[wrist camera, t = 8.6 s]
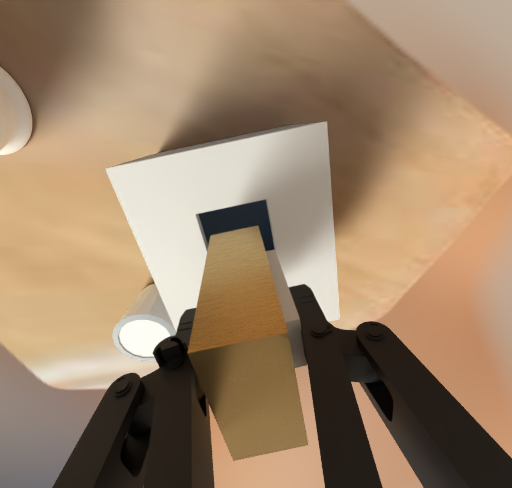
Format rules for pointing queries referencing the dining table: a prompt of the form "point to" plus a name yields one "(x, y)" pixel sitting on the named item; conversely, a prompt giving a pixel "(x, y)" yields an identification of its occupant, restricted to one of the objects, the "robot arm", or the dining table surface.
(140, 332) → the white cylinder
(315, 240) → the box
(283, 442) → the wooden rectangular block
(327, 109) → the dining table surface
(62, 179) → the dining table surface
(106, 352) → the dining table surface
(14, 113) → the jar
